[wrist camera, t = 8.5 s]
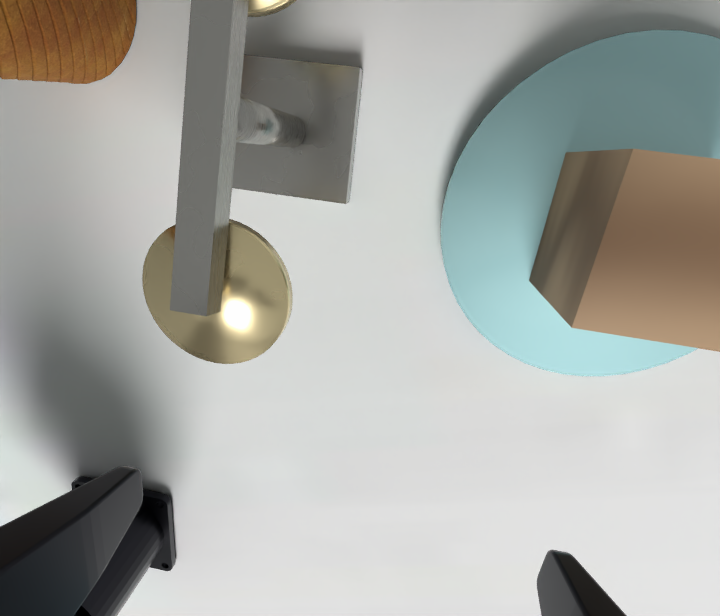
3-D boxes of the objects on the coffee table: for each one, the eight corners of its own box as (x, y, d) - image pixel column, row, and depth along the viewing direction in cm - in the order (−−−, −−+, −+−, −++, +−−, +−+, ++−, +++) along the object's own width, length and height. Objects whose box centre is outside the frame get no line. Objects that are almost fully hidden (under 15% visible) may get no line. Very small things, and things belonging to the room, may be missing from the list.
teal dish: (701, 387, 18) (716, 400, 17) (416, 340, 19) (416, 349, 18) (866, 58, 13) (900, 51, 12) (477, 21, 15) (481, 11, 14)
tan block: (654, 300, 16) (750, 356, 11) (528, 280, 16) (571, 328, 12) (708, 170, 14) (848, 174, 10) (565, 152, 15) (633, 148, 10)
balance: (338, 298, 19) (278, 402, 11) (238, 281, 19) (107, 370, 11) (378, -75, 14) (320, -411, 6) (242, -85, 14) (7, -412, 6)
